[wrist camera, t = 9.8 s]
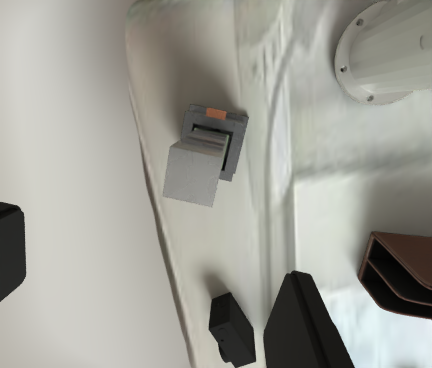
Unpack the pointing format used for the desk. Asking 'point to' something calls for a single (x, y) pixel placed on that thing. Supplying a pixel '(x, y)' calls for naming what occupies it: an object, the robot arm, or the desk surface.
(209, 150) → the column
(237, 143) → the stand base
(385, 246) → the letter holder
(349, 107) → the desk surface
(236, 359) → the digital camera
